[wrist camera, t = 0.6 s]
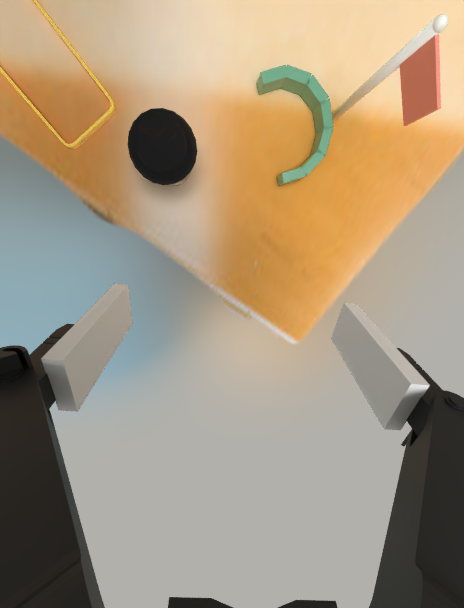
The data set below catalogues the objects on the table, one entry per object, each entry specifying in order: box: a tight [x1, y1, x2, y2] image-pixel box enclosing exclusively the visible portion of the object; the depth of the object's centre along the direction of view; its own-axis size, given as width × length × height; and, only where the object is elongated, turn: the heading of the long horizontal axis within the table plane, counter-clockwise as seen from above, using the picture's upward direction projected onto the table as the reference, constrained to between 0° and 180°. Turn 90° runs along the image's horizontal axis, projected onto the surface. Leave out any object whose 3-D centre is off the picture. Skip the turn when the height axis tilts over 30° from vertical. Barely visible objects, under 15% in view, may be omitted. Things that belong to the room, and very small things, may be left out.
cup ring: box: [257, 65, 334, 186], centre depth 33 cm, size 12×8×2 cm, turn 17°
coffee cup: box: [128, 108, 197, 186], centre depth 29 cm, size 7×7×10 cm
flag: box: [332, 14, 448, 126], centre depth 27 cm, size 6×1×17 cm, turn 16°
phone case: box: [0, 0, 116, 149], centre depth 29 cm, size 8×17×1 cm, turn 38°
